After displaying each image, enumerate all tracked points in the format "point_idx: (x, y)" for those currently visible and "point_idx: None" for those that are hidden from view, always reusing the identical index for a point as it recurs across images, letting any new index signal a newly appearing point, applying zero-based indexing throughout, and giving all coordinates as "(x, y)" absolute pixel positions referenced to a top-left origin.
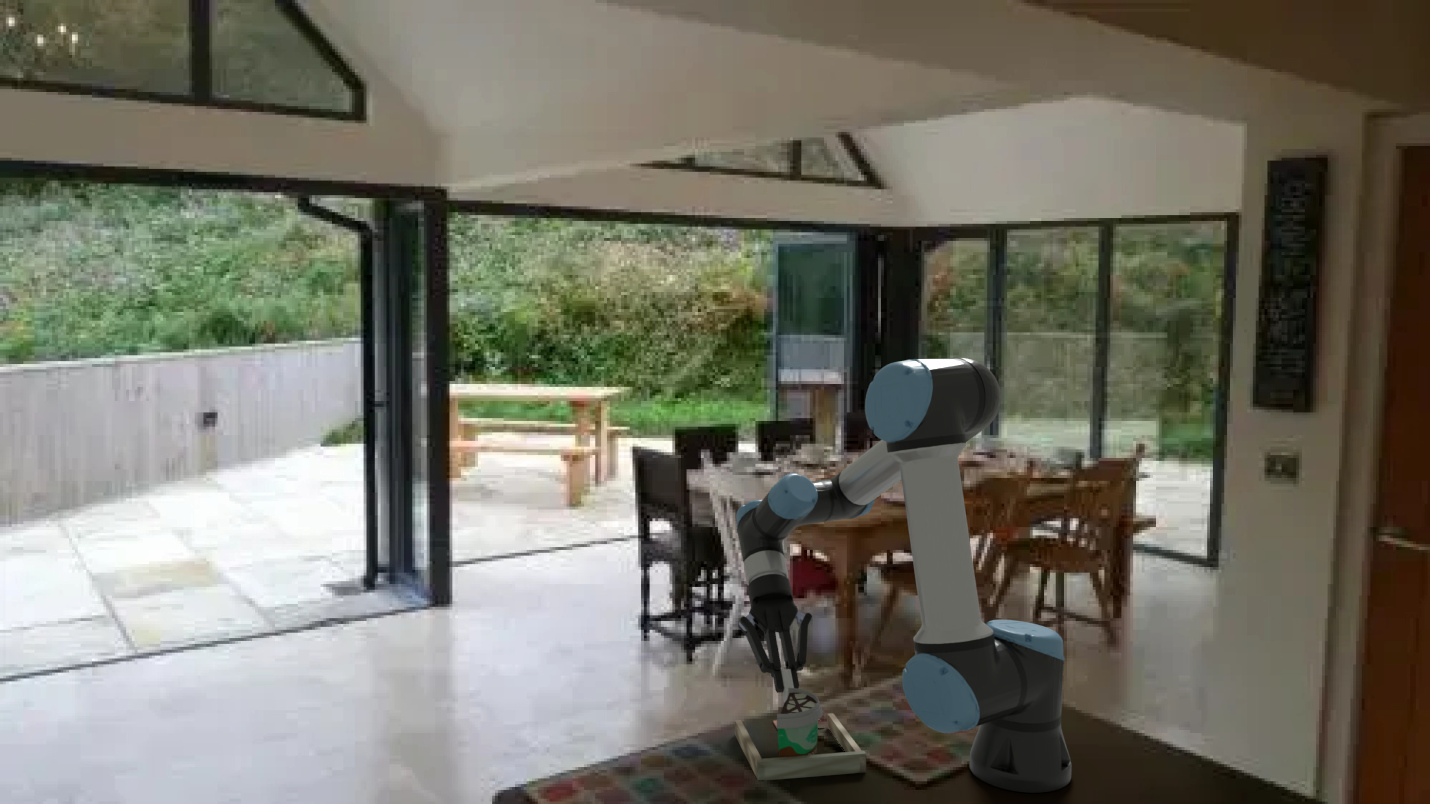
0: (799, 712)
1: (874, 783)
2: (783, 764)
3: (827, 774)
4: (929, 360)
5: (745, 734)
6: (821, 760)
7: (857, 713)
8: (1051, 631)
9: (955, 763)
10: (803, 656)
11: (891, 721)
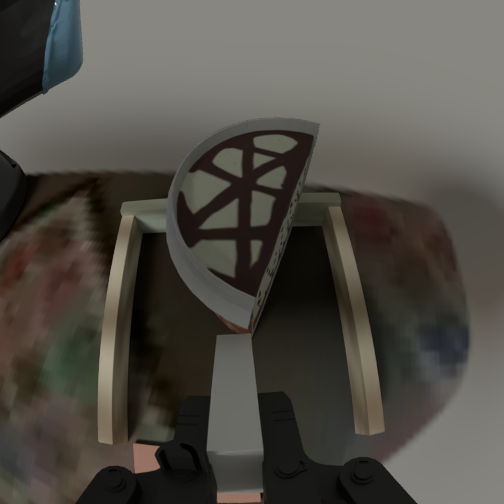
0: (260, 118)
1: (140, 192)
2: None
3: None
4: None
5: (365, 341)
6: None
7: (52, 484)
8: None
9: (14, 240)
10: (95, 501)
11: (10, 420)
